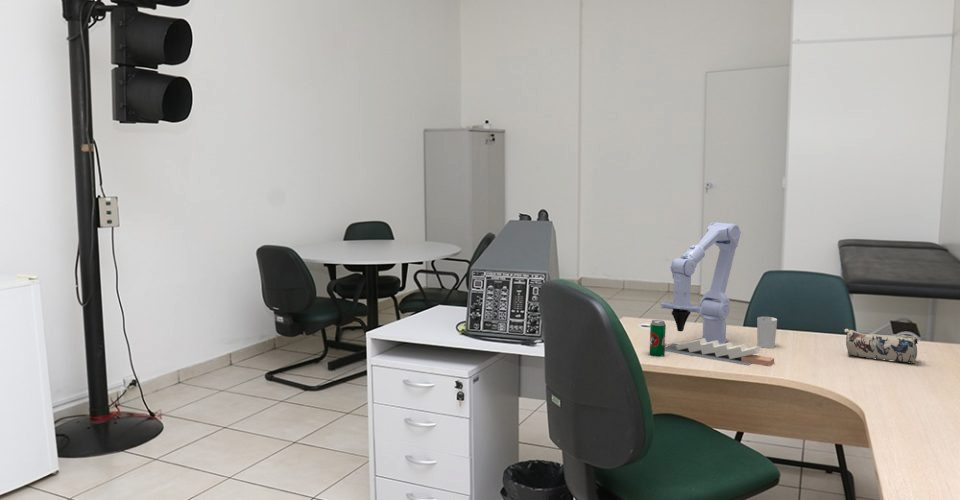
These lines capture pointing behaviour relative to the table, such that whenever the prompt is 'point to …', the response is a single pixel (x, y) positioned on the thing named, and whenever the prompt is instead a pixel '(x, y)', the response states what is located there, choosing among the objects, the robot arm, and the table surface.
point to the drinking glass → (766, 331)
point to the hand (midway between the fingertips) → (680, 330)
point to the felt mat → (705, 355)
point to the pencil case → (882, 346)
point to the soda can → (657, 338)
